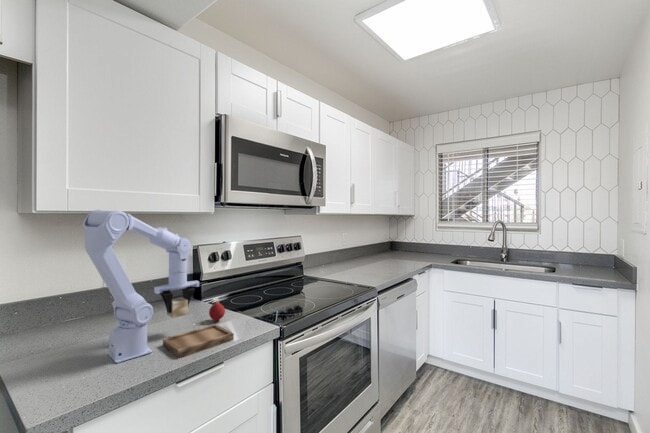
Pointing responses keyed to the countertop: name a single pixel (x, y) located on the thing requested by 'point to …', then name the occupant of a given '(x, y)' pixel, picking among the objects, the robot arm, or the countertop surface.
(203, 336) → the tray
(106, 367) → the countertop surface
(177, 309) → the cube
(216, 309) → the onion
